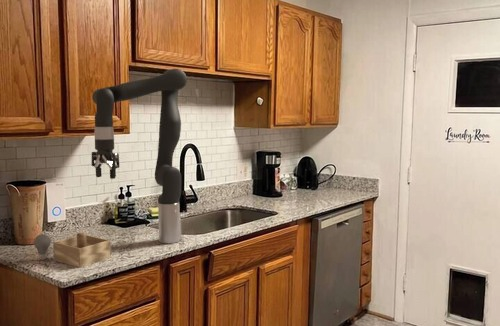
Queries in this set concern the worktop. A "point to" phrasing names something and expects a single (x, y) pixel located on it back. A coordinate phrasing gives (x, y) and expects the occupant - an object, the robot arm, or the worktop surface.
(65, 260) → the crate
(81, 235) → the peg
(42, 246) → the light bulb
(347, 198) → the worktop surface
